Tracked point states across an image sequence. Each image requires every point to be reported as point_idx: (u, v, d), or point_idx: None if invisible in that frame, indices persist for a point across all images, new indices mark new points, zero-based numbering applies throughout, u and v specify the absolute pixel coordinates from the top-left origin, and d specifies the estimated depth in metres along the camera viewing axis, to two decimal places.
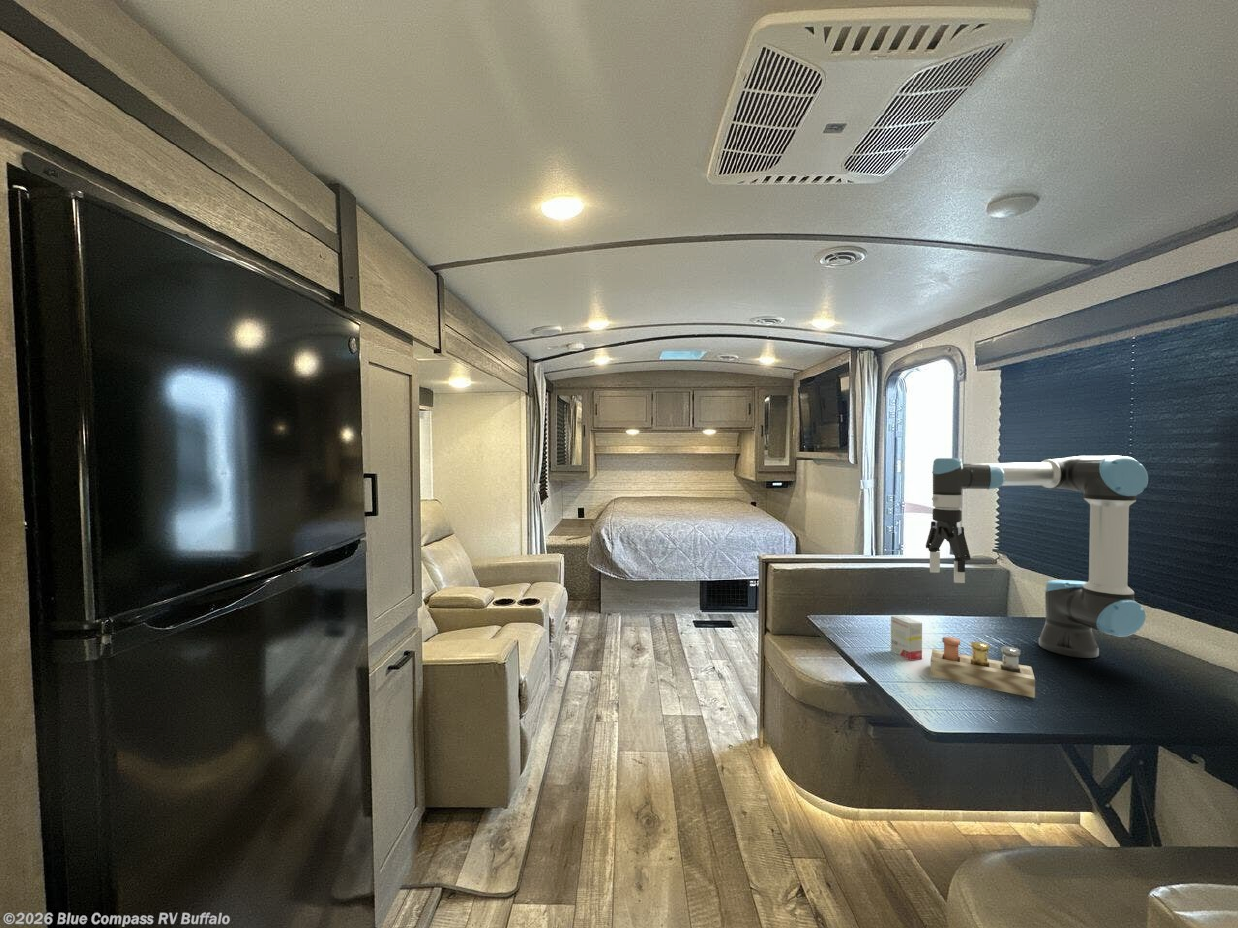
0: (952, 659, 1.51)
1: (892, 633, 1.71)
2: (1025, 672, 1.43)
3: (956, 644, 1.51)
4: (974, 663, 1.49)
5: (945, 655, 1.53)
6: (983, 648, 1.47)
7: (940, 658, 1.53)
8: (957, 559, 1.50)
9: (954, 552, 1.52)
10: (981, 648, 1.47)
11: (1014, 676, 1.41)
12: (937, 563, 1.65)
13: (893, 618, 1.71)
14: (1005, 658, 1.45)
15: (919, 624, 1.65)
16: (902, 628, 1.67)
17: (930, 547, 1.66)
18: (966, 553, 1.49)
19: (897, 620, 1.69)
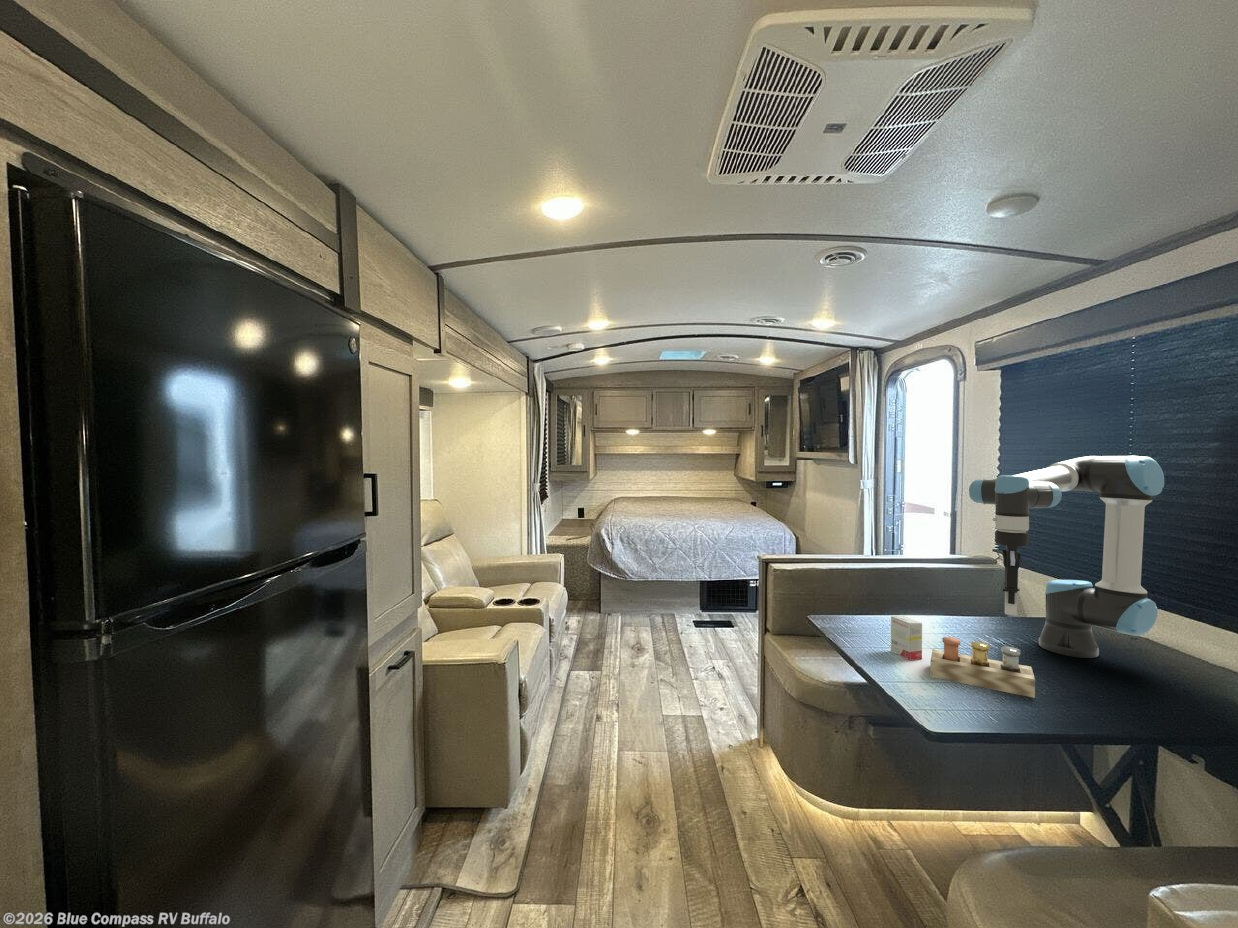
0: (952, 659, 1.51)
1: (892, 633, 1.71)
2: (1025, 672, 1.43)
3: (956, 644, 1.51)
4: (974, 663, 1.49)
5: (945, 655, 1.53)
6: (983, 648, 1.47)
7: (940, 658, 1.53)
8: (1005, 590, 1.44)
9: (1006, 581, 1.44)
10: (981, 648, 1.47)
11: (1014, 676, 1.41)
12: None
13: (893, 618, 1.71)
14: (1005, 658, 1.45)
15: (919, 624, 1.65)
16: (902, 628, 1.67)
17: (1005, 583, 1.46)
18: (1013, 586, 1.41)
19: (897, 620, 1.69)
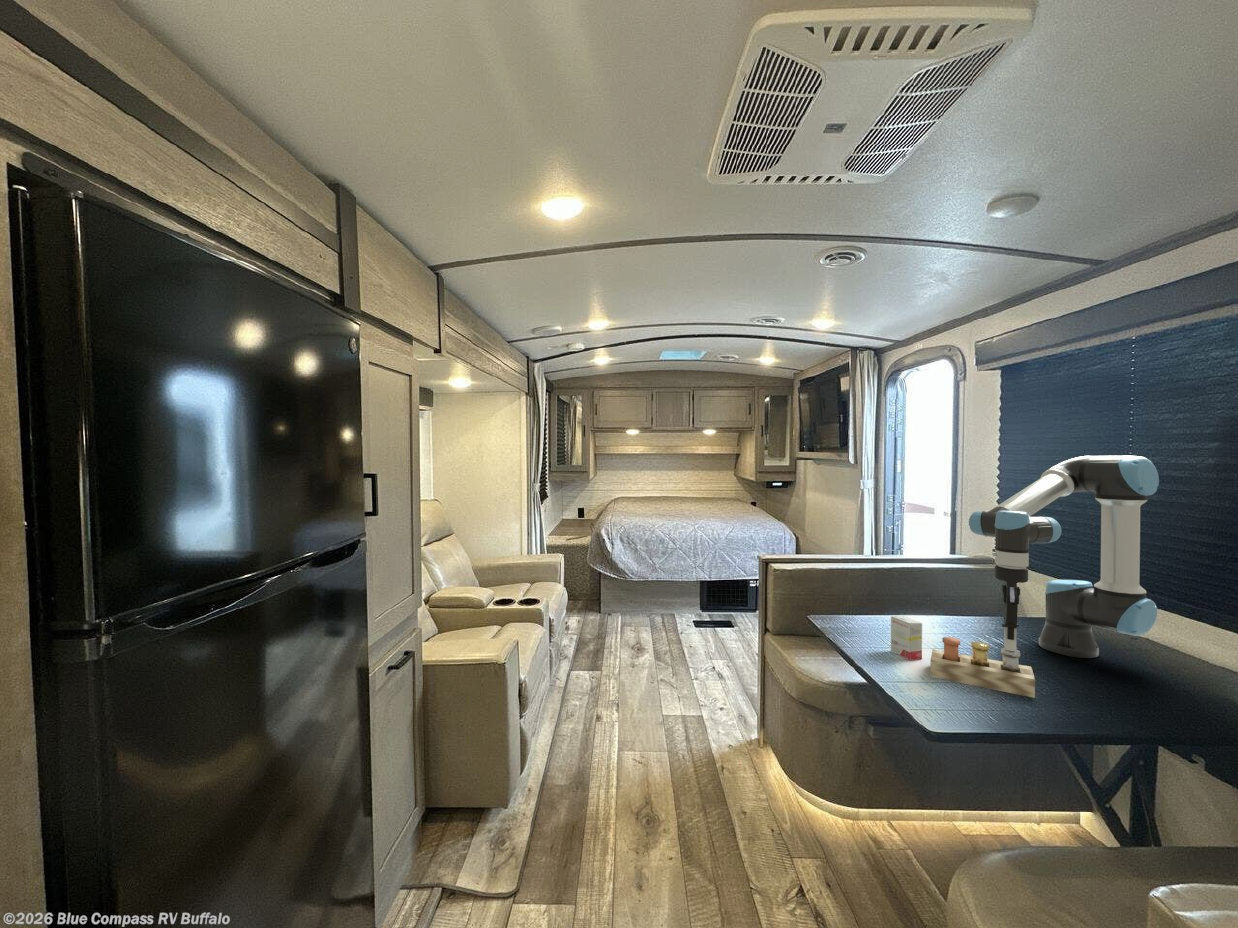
0: (952, 659, 1.51)
1: (892, 633, 1.71)
2: (1025, 672, 1.43)
3: (956, 644, 1.51)
4: (974, 663, 1.49)
5: (945, 655, 1.53)
6: (983, 648, 1.47)
7: (940, 658, 1.53)
8: (1004, 626, 1.44)
9: (1005, 617, 1.44)
10: (981, 648, 1.47)
11: (1014, 676, 1.41)
12: None
13: (893, 618, 1.71)
14: (1005, 659, 1.45)
15: (919, 624, 1.65)
16: (902, 628, 1.67)
17: None
18: (1013, 622, 1.41)
19: (897, 620, 1.69)
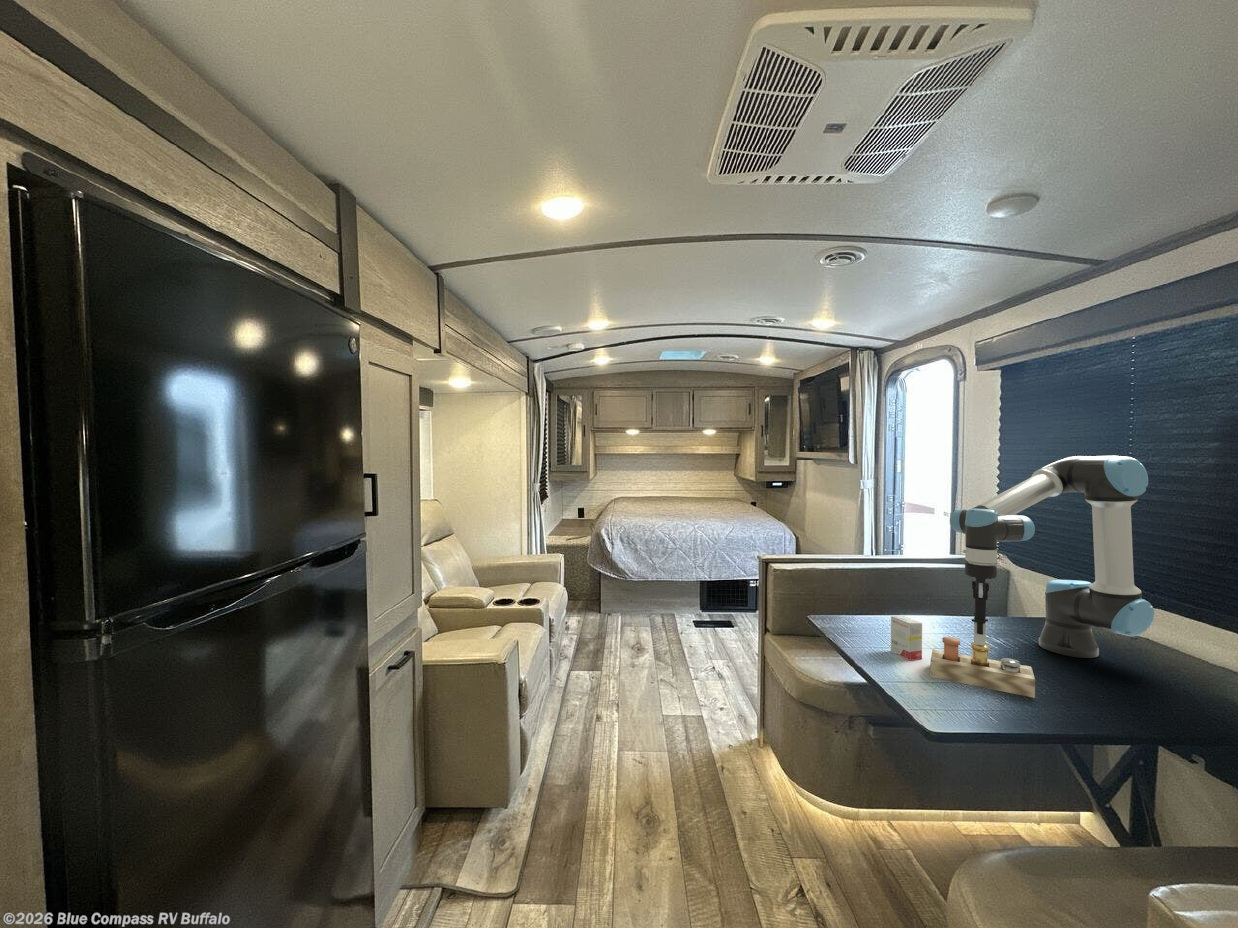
0: (952, 659, 1.51)
1: (892, 633, 1.71)
2: (1025, 672, 1.43)
3: (956, 644, 1.51)
4: (974, 664, 1.49)
5: (945, 655, 1.53)
6: (983, 649, 1.47)
7: (940, 658, 1.53)
8: (974, 621, 1.48)
9: None
10: (981, 649, 1.47)
11: (1014, 676, 1.41)
12: None
13: (893, 618, 1.71)
14: (1005, 670, 1.45)
15: (919, 624, 1.65)
16: (902, 628, 1.67)
17: None
18: (982, 617, 1.45)
19: (897, 620, 1.69)
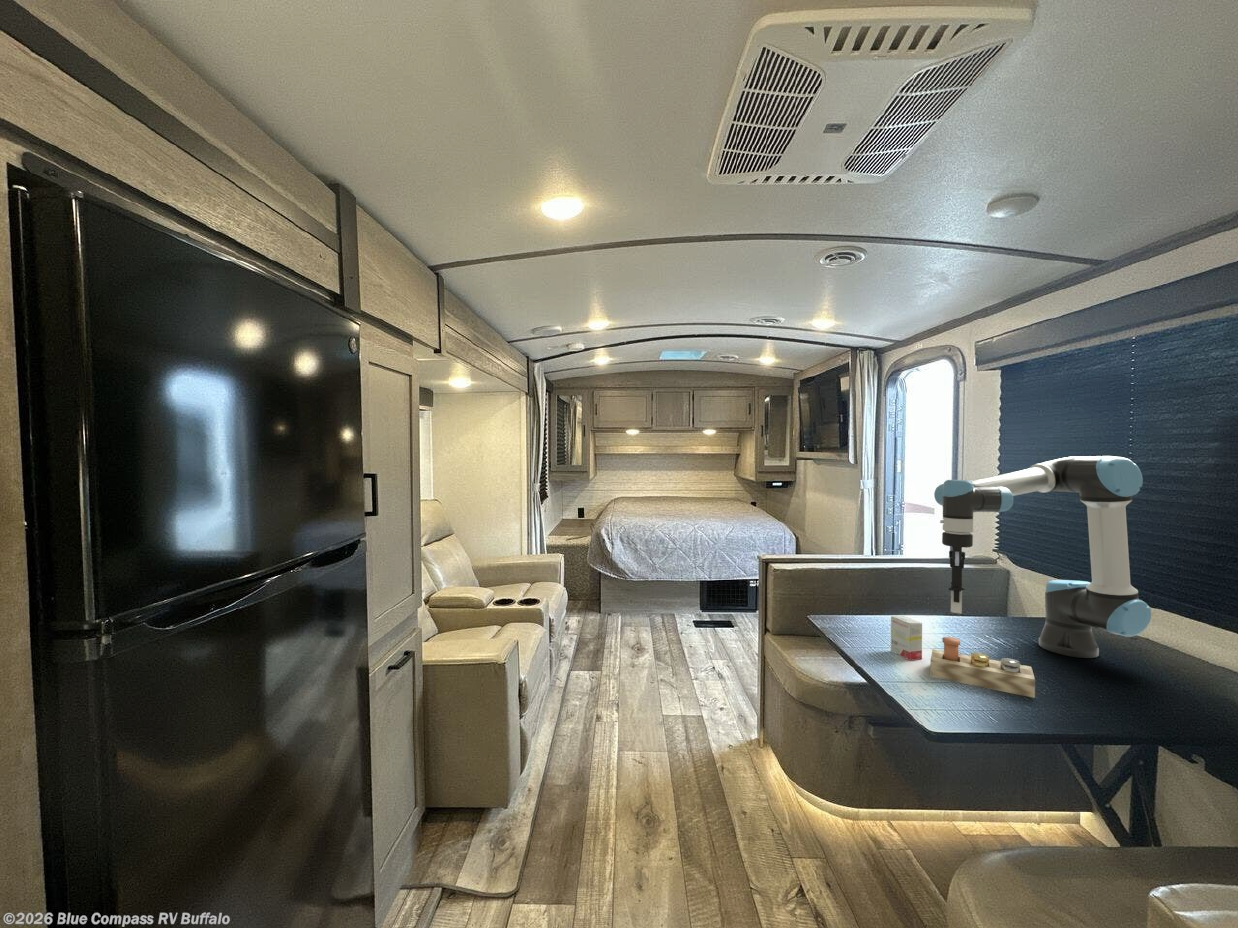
0: (952, 659, 1.51)
1: (892, 633, 1.71)
2: (1025, 672, 1.43)
3: (956, 644, 1.51)
4: None
5: (945, 655, 1.53)
6: (983, 660, 1.47)
7: (940, 658, 1.53)
8: (951, 589, 1.51)
9: None
10: (981, 660, 1.47)
11: (1014, 676, 1.41)
12: None
13: (893, 618, 1.71)
14: (1005, 670, 1.45)
15: (919, 624, 1.65)
16: (902, 628, 1.67)
17: None
18: (958, 585, 1.48)
19: (897, 620, 1.69)
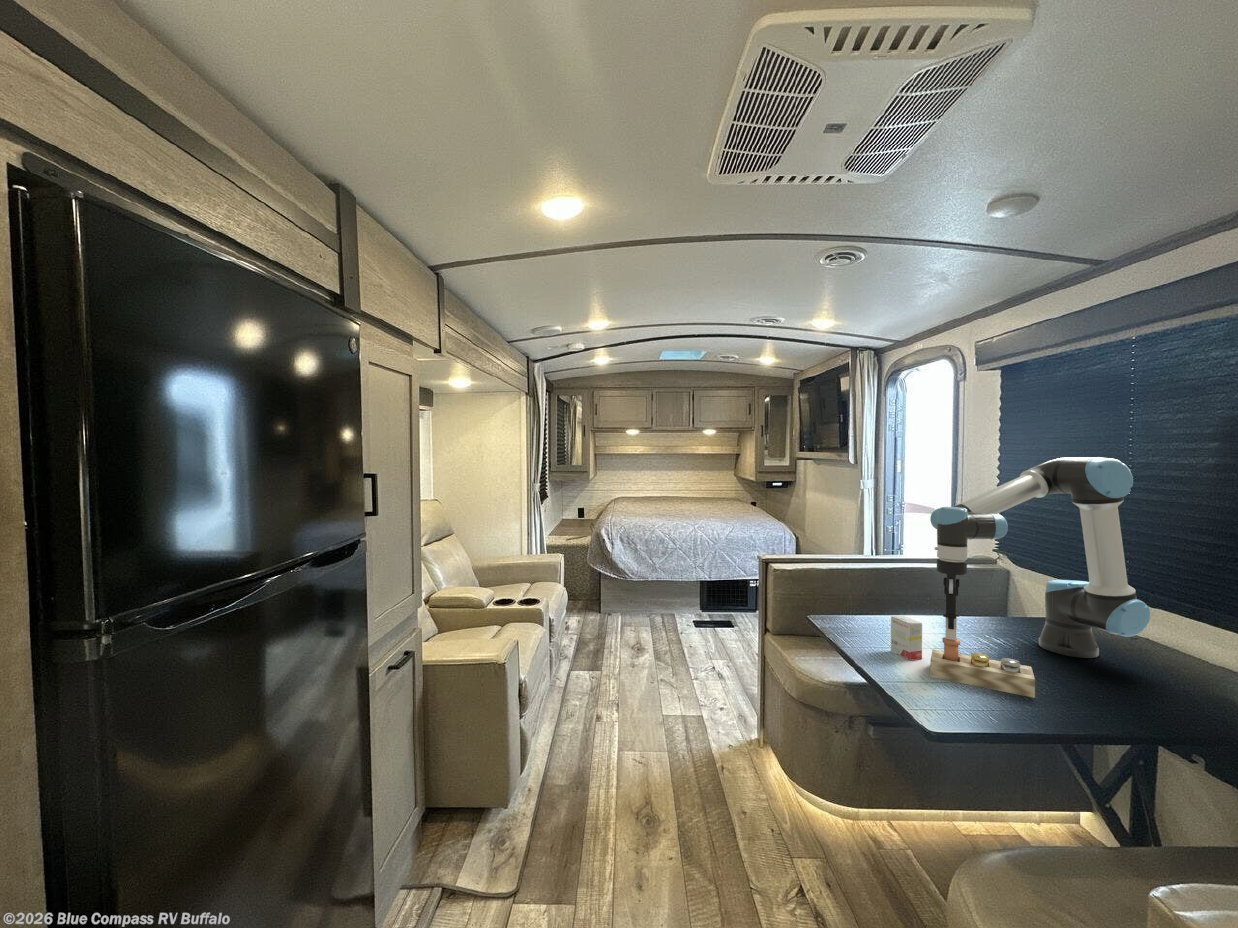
0: (952, 659, 1.51)
1: (892, 633, 1.71)
2: (1025, 672, 1.43)
3: (956, 644, 1.51)
4: None
5: (945, 655, 1.53)
6: (983, 660, 1.47)
7: (940, 658, 1.53)
8: (945, 616, 1.52)
9: None
10: (981, 660, 1.47)
11: (1014, 676, 1.41)
12: None
13: (893, 618, 1.71)
14: (1005, 670, 1.45)
15: (919, 624, 1.65)
16: (902, 628, 1.67)
17: None
18: (952, 612, 1.49)
19: (897, 620, 1.69)
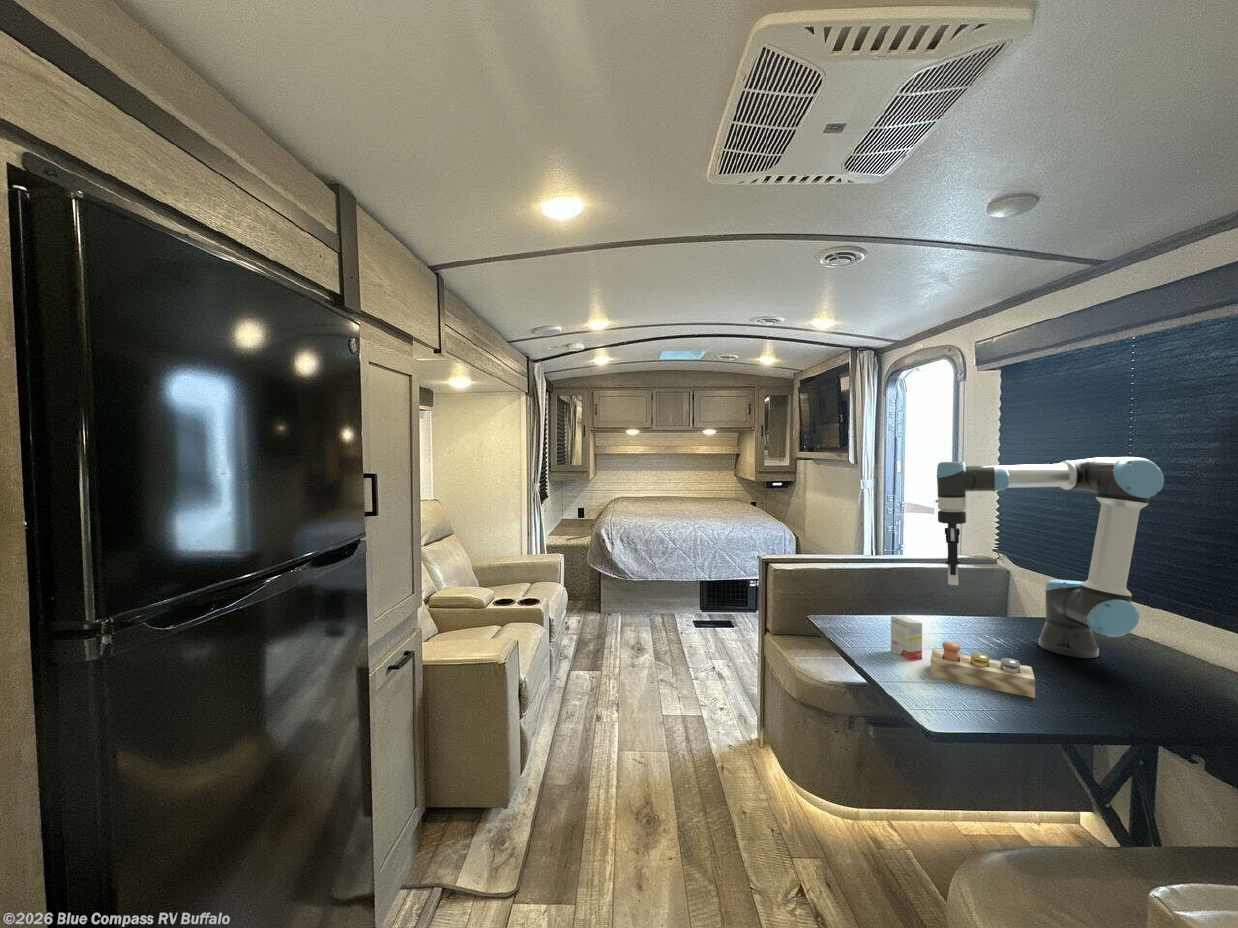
0: None
1: (892, 633, 1.71)
2: (1025, 672, 1.43)
3: (956, 649, 1.51)
4: None
5: None
6: (983, 660, 1.47)
7: (940, 658, 1.53)
8: (947, 563, 1.63)
9: None
10: (981, 660, 1.47)
11: (1014, 676, 1.41)
12: None
13: (893, 618, 1.71)
14: (1005, 670, 1.45)
15: (919, 624, 1.65)
16: (902, 628, 1.67)
17: None
18: (954, 559, 1.60)
19: (897, 620, 1.69)
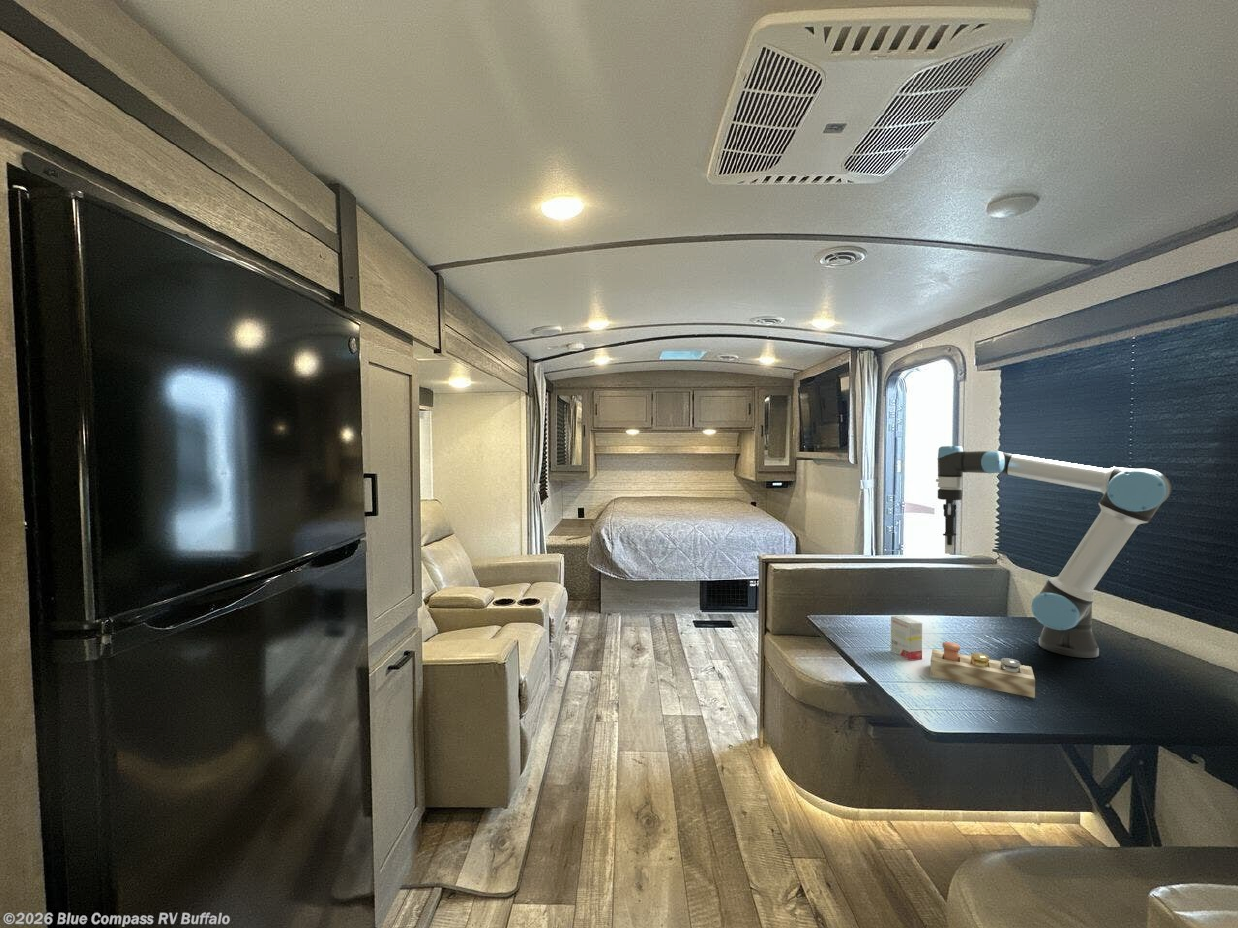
0: None
1: (892, 633, 1.71)
2: (1025, 672, 1.43)
3: (956, 649, 1.51)
4: None
5: None
6: (983, 660, 1.47)
7: (940, 658, 1.53)
8: (945, 535, 1.87)
9: None
10: (981, 660, 1.47)
11: (1014, 676, 1.41)
12: None
13: (893, 618, 1.71)
14: (1005, 670, 1.45)
15: (919, 624, 1.65)
16: (902, 628, 1.67)
17: None
18: (950, 530, 1.84)
19: (897, 620, 1.69)
